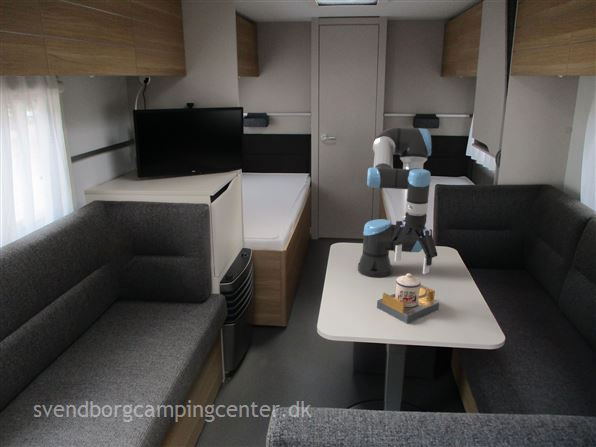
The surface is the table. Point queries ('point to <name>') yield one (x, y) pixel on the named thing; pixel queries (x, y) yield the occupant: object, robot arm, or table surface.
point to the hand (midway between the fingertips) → (411, 266)
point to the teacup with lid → (409, 290)
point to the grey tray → (409, 313)
